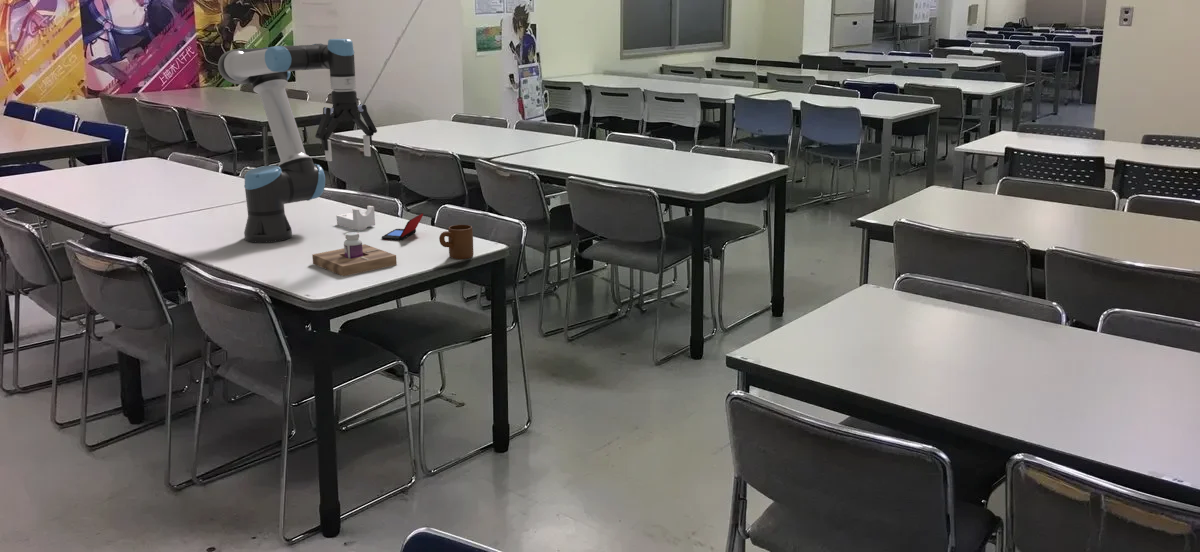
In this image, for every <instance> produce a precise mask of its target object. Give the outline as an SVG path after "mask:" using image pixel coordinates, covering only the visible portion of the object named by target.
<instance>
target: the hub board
mask: <svg viewBox="0 0 1200 552" xmlns="http://www.w3.org/2000/svg"><path fill="white" fill-rule="evenodd" d="M362 248H363V256H362V257H357V258H352V259H349V258H346V257H345V251H344V247H343V248H340V249H339V248H338V249H334V250H328V251H323V252H318V253H313V254H312V264H313V265H315V266H317V267H320V268H322V269H325V270H327V271H329V272H332V273H334V274H337V275H339V276H341V277H346V276H351V275H355V274H361V273H366V272H369V271H374V270H378V269H384V268H387V267H388V268H389V267H392V266H396V265H398V264H397V263H398V262H397V255H396V254H394V253H391V252H388V251H385V250H383V249H380V248H377V247H374V246H370V245H368V244H362Z"/></svg>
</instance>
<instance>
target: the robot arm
mask: <svg viewBox="0 0 1200 552" xmlns="http://www.w3.org/2000/svg"><path fill="white" fill-rule="evenodd" d="M355 65H356V64H355V50H354V44H353V41H352V40H351V39H350V38H330V39H328V41H327V44H323V43H312V44H301V45H275V46H270V47H269V46H268V47H261V48H260V47H259V48H258V47H257V48H256V47H255V48H254V47H253V48H237V49H236V48H235V49H231V50H228V51H225V52H224V53H223V54H221V56H220V58H219V60H218V62H217V69H218V72H219V74H220V75H221V77H222V78H223V79H224V80H226V81H227V82H229V83H232V84H234V85H235V84H236V85H251V87H252V90H253V92H254V93H256V94H258V95H259V97H260V100H261V103H262V106H263V109H264V110H263V111H264V112H265V116H266V118H267V122H268V125H269V130H270V132H271V134H272V138H273V141H274V143H275V144H274V145H275V147H276V151H277V155H278V156H279V159H280V161H279V163H278V164H277V165H275V164H274V165H273V164H271V165H263V166H257V167H256V168H252V169H250V170H248V171H247V172H246V173H245V174H244V190H245V191H244V192H245V200H246V207H247V208H246V210H247V219H246V222H245V223H246V224H245V228H244V232H243V237H244V240H245V241H246V242H250V243H259V244H261V243H262V244H263V243H265V244H266V243H274V242H282V241H284V240H285V241H286V240H288V239H291V238H292V236H293V230H292V227H291V225H290V222H289V221H288V218H287V215H286V213H285V205H286V204H292V203H298V202H304V201H311V200H314V199H318V198H319V197H321V196H322V195H323V193H324V190H325V186H326V175H325V170H324V169H323V167H322V166H321V165H320V164H317V163H314V160H313V157H311V156H309V155H308V154H307V153H306V150H305V147H304V145H303V140H302V138H301V134H300V132H299V128H298V124H297V121H296V119H295V117H294V112H293V110H292V106H291V104H290V103H291V102H290V101H289V96H288V94H287V90H286V88H287V86H288V84H289V83H288V82H289V81H288V80H289V79H290V77H291V72H294V71H310V70H312V71H313V70H314V71H315V70H329V77H330V89H331V90H332V92H331V103H332V107H326V106H324V107H323V108H322V116H321V119H320V122H319V124H318V128H317V130H316V133H315V138H316V139H319V140H321V147H322V150H323V151H324V154H325V161H327V162H333V153H332V142H331V141H332V140H331V139H330V137H331V135H332V134H333V132H334V131H335V129H336V128H337V127H338V125H339V124H340V123H341V122H346V121H353V122H354V123H355V124H356V125H357V127H358V128H359V129H360V130H361V131H362V132H363V133H364V134H363V135H362V141H363V153H364V154H363V156H364V157H371V156H372V153H371V146H372V145H373V136H374V134H376V133H377V132H378V129H377V128H376V126H375V123H374V121H373V120H372V118H371V117H370V114H369V112H368V109H367V105H366V104H362V103H360V104H359V105H358V104H357V102H358V98H357V91H356V89H357V84H356V66H355ZM357 112H359V113H360V115H361V117H360V116H359V115H358V114H357ZM332 114H333V116H332V118H331V115H332ZM330 118H331V119H330ZM361 118H362V119H363V121H364V122H363V121H362V119H361ZM330 120H331V121H330ZM329 121H330V122H329ZM328 123H329V124H328Z"/></svg>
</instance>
